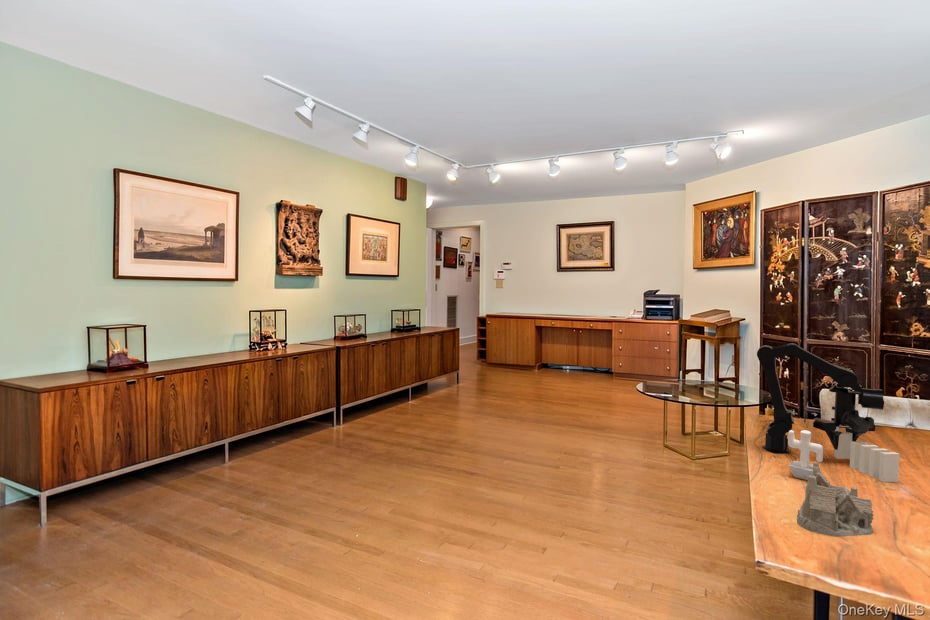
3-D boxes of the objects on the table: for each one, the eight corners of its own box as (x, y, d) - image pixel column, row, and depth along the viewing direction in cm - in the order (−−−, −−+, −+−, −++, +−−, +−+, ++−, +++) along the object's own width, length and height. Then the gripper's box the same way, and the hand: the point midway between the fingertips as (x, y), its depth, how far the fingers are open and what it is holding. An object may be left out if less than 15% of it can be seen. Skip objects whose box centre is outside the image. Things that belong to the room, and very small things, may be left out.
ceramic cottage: (789, 524, 128) (797, 467, 127) (803, 507, 140) (810, 455, 139) (867, 551, 117) (875, 489, 116) (875, 530, 129) (883, 473, 128)
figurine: (818, 484, 155) (821, 436, 154) (783, 475, 162) (785, 430, 161) (824, 478, 160) (826, 432, 159) (789, 470, 167) (791, 426, 166)
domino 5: (883, 482, 158) (884, 454, 157) (878, 480, 159) (880, 452, 159) (898, 481, 158) (899, 453, 157) (893, 480, 159) (894, 452, 159)
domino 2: (853, 469, 169) (854, 443, 168) (849, 467, 170) (851, 441, 170) (867, 469, 169) (869, 442, 169) (863, 467, 171) (865, 441, 170)
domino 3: (863, 473, 165) (864, 446, 165) (858, 471, 167) (860, 444, 166) (877, 473, 165) (878, 446, 165) (873, 471, 167) (874, 444, 166)
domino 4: (872, 477, 161) (874, 450, 161) (868, 475, 163) (870, 448, 162) (887, 477, 162) (889, 450, 161) (883, 475, 163) (884, 448, 163)
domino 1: (837, 458, 175) (838, 433, 175) (834, 457, 177) (835, 432, 176) (851, 458, 176) (852, 433, 175) (847, 457, 177) (848, 432, 177)
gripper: (838, 411, 167) (835, 457, 168) (891, 411, 168) (888, 457, 169) (812, 403, 178) (810, 446, 179) (862, 403, 179) (860, 446, 180)
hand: (842, 449), depth 176 cm, fingers closed on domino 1, 5 cm apart
